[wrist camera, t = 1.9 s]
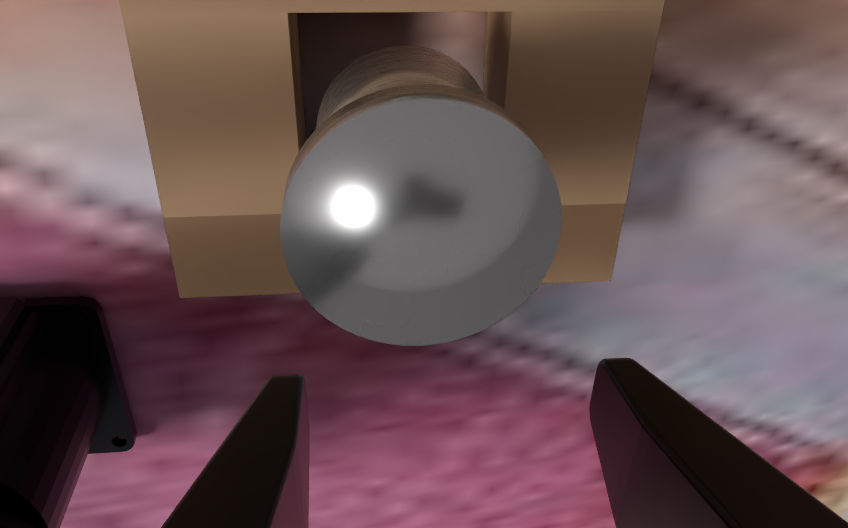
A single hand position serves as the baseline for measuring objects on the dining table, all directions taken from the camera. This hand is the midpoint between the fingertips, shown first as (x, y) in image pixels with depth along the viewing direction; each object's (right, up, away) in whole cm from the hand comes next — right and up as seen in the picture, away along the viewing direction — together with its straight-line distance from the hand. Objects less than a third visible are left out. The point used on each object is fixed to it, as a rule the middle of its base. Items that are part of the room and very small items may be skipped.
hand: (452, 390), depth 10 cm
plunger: (-1, +5, +7) cm, 9 cm away
